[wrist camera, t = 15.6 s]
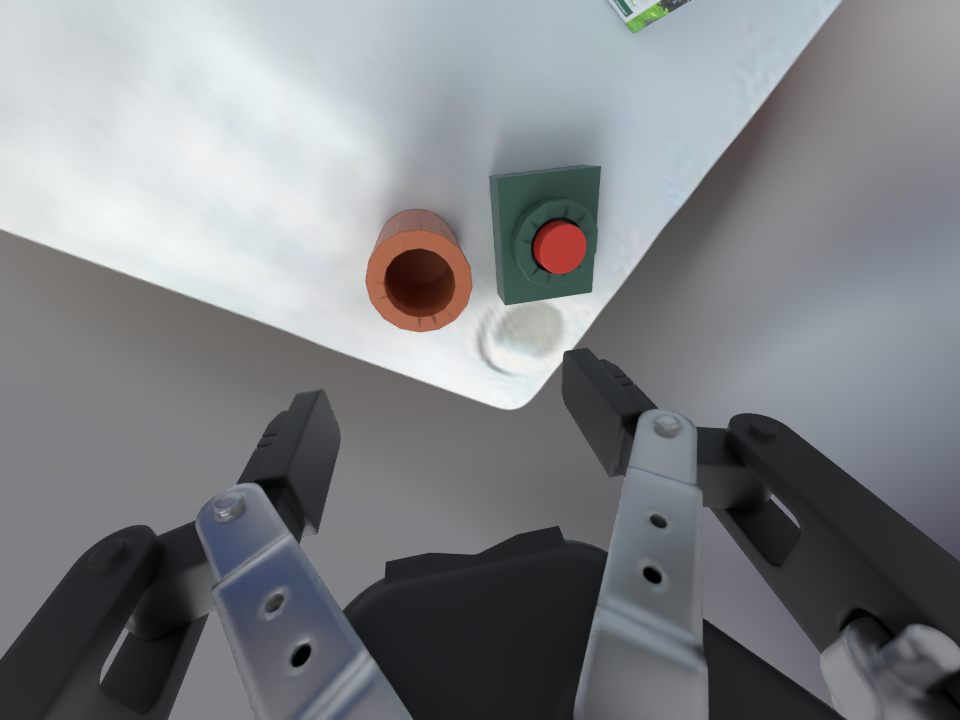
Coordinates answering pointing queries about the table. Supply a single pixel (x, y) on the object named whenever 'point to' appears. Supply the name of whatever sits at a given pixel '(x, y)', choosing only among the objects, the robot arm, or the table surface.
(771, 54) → the table surface
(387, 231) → the jar
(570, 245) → the button
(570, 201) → the green button base
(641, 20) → the syrup box
